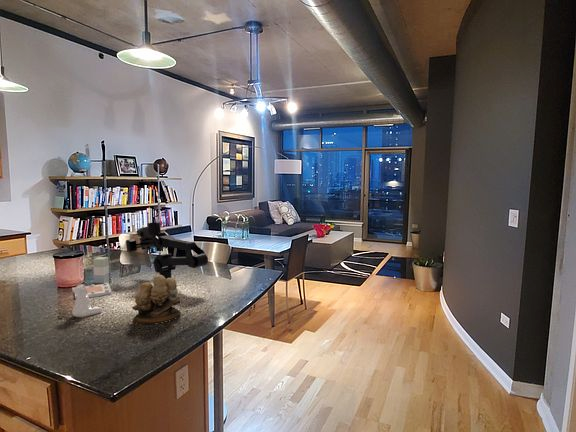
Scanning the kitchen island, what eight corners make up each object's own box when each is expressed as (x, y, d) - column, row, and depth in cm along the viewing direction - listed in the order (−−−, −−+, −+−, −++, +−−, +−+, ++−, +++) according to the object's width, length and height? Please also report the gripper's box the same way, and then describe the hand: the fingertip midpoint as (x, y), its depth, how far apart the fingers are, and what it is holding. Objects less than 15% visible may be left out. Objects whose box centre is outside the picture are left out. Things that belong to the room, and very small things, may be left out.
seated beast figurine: (103, 312, 138) (102, 282, 137) (85, 320, 130) (84, 288, 128) (83, 309, 140) (82, 279, 139) (64, 317, 132) (63, 285, 131)
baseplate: (108, 285, 170) (108, 282, 170) (111, 294, 159) (111, 290, 158) (75, 289, 163) (74, 285, 163) (75, 299, 151) (74, 294, 151)
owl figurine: (179, 309, 143) (179, 268, 141) (186, 319, 133) (186, 275, 131) (130, 316, 134) (130, 272, 132) (135, 328, 124) (134, 281, 122)
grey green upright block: (109, 280, 180) (108, 257, 178) (104, 283, 175) (103, 259, 173) (99, 280, 179) (98, 257, 178) (94, 283, 174) (93, 259, 173)
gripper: (165, 225, 189) (147, 227, 197) (133, 229, 173) (116, 231, 182) (168, 246, 189) (150, 247, 197) (136, 251, 173) (118, 253, 182)
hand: (134, 244), depth 190 cm, fingers open, 9 cm apart
